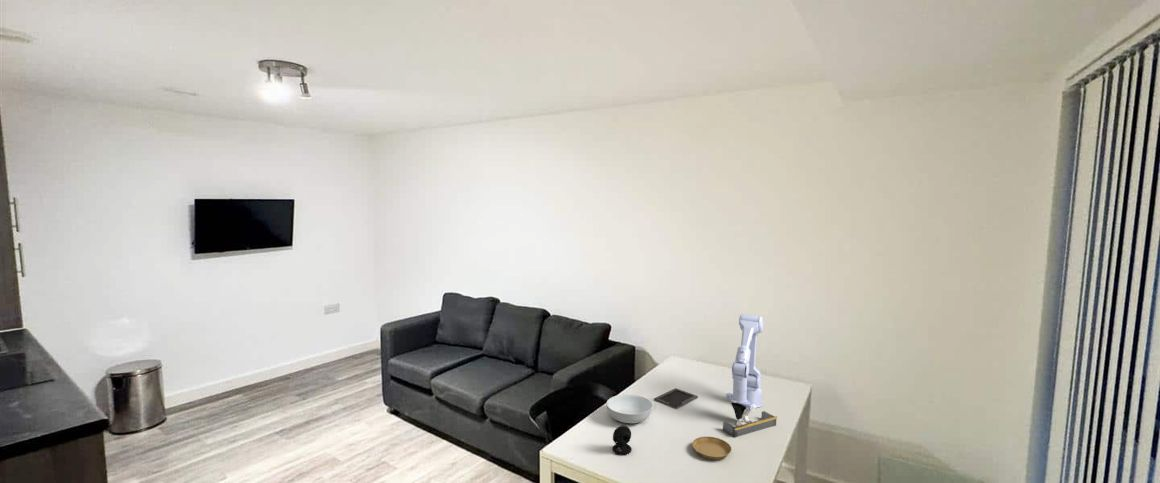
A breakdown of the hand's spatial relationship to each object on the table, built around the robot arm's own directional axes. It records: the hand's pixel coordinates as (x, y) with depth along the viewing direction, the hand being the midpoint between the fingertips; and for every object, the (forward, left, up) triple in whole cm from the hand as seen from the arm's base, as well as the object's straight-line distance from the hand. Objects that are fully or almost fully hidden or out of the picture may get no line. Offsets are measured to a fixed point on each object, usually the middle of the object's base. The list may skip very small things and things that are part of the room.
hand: (738, 419), depth 205 cm
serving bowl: (+42, -24, -1) cm, 48 cm away
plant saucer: (+28, +14, -2) cm, 31 cm away
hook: (0, +4, -1) cm, 4 cm away
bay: (0, +7, -1) cm, 7 cm away
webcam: (+59, -2, -1) cm, 59 cm away
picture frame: (+11, -31, -2) cm, 33 cm away
